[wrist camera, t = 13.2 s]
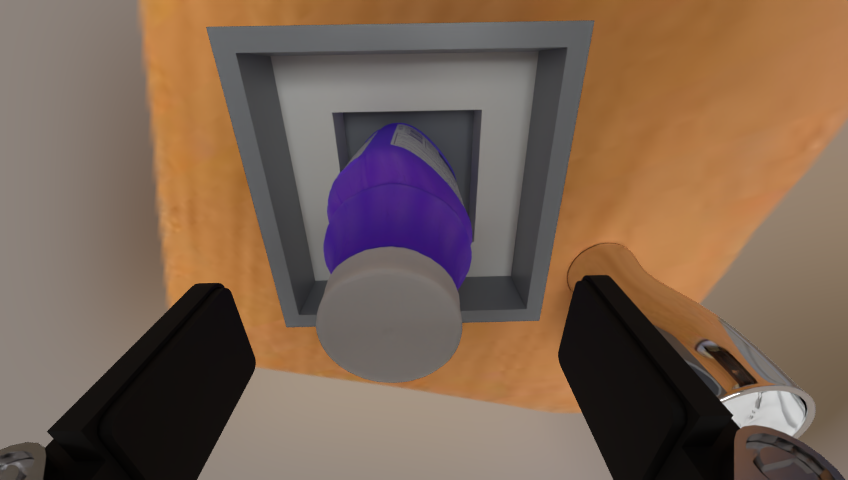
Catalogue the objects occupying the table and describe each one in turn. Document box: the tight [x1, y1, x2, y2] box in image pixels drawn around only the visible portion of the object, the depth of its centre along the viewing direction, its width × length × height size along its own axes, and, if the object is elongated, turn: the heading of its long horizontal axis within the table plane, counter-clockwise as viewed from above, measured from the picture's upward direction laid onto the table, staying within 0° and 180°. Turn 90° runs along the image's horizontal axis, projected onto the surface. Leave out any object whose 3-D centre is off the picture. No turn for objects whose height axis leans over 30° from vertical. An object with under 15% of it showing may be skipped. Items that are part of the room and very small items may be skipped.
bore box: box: [206, 21, 594, 327], centre depth 22 cm, size 17×17×8 cm
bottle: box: [316, 123, 472, 383], centre depth 17 cm, size 7×6×17 cm
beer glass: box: [568, 243, 816, 439], centre depth 24 cm, size 7×7×15 cm
